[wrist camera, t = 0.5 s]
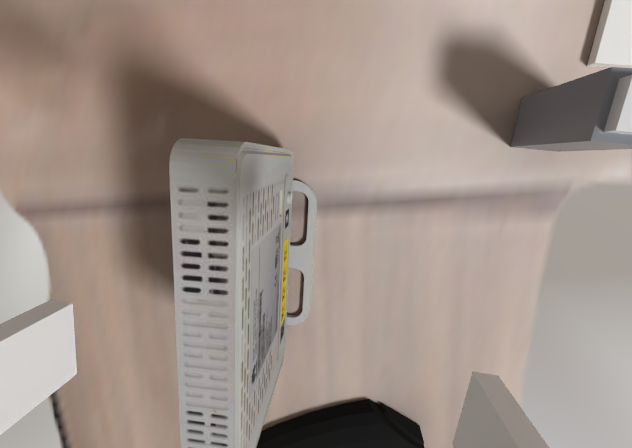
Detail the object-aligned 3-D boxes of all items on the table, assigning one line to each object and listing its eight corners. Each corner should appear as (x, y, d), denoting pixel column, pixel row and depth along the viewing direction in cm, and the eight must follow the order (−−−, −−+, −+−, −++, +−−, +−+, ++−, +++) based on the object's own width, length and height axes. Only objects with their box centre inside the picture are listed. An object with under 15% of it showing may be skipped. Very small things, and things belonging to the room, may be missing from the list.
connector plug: (521, 98, 32) (625, 62, 20) (571, 102, 31) (706, 68, 20) (510, 146, 33) (602, 139, 21) (558, 151, 32) (678, 146, 21)
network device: (246, 147, 35) (126, 133, 16) (320, 152, 35) (289, 143, 15) (244, 340, 41) (153, 505, 21) (307, 348, 40) (273, 524, 21)
